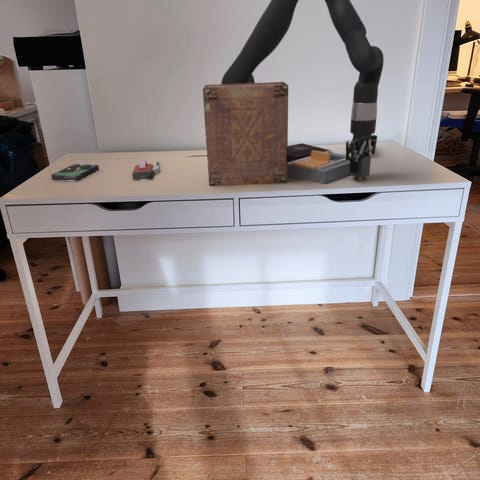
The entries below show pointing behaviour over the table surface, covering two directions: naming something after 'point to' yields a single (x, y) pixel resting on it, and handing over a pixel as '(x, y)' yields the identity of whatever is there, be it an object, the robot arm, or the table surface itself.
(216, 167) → the book
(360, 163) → the plug
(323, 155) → the shutter
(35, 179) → the table surface
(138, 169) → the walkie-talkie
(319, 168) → the socket block
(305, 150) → the portable cd player
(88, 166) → the disk drive
